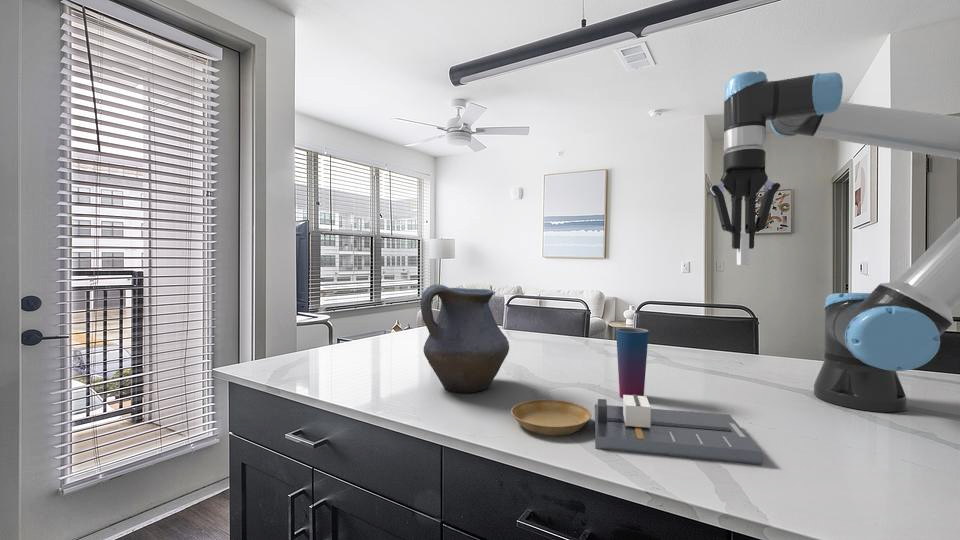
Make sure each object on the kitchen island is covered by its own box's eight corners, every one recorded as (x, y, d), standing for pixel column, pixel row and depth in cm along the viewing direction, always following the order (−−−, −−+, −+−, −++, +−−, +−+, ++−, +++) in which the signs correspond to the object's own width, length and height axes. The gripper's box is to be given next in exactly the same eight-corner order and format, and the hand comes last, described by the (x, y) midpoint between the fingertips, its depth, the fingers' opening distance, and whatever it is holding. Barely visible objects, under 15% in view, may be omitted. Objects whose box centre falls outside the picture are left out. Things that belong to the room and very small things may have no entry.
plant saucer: (495, 422, 84) (495, 409, 84) (549, 406, 93) (549, 394, 93) (552, 449, 72) (552, 433, 72) (608, 427, 81) (608, 413, 81)
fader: (646, 415, 80) (646, 395, 80) (650, 427, 74) (650, 406, 74) (623, 413, 81) (623, 393, 81) (625, 425, 75) (625, 404, 75)
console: (729, 425, 81) (729, 398, 81) (761, 464, 66) (762, 431, 66) (594, 414, 87) (594, 389, 87) (595, 448, 72) (595, 417, 72)
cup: (650, 403, 94) (651, 332, 94) (617, 401, 95) (617, 331, 95) (645, 393, 101) (645, 327, 100) (614, 391, 102) (614, 327, 102)
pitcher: (527, 390, 103) (527, 283, 102) (446, 408, 91) (445, 287, 90) (478, 372, 120) (477, 280, 119) (404, 385, 108) (403, 283, 107)
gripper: (772, 153, 94) (770, 264, 95) (705, 157, 97) (704, 264, 98) (787, 145, 87) (785, 265, 87) (714, 149, 90) (713, 265, 91)
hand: (742, 264), depth 93 cm, fingers closed
